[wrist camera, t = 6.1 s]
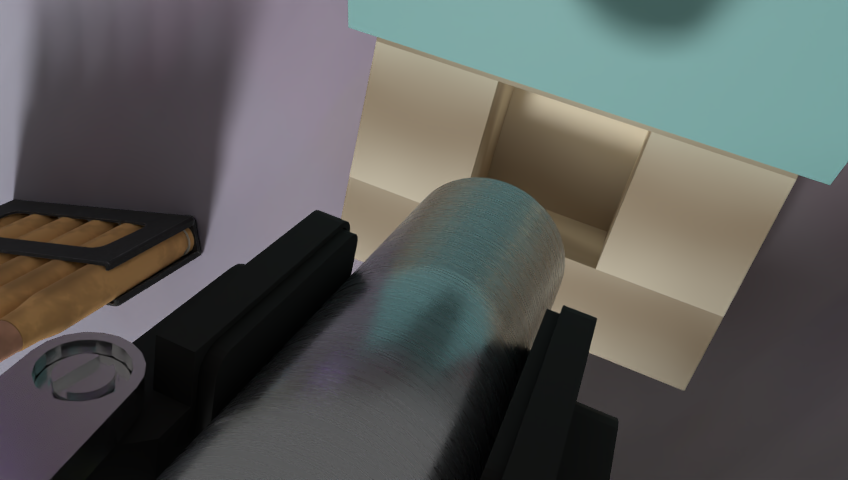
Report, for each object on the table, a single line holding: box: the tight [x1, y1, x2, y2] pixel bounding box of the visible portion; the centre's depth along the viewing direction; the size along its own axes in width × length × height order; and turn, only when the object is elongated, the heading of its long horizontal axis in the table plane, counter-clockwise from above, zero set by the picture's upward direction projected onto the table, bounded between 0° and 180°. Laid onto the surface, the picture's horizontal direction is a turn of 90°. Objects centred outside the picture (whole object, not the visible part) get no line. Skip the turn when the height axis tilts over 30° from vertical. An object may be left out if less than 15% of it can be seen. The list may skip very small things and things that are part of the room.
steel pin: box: [156, 177, 565, 480], centre depth 10 cm, size 3×3×10 cm
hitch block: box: [341, 37, 798, 391], centre depth 20 cm, size 18×12×4 cm, turn 166°
